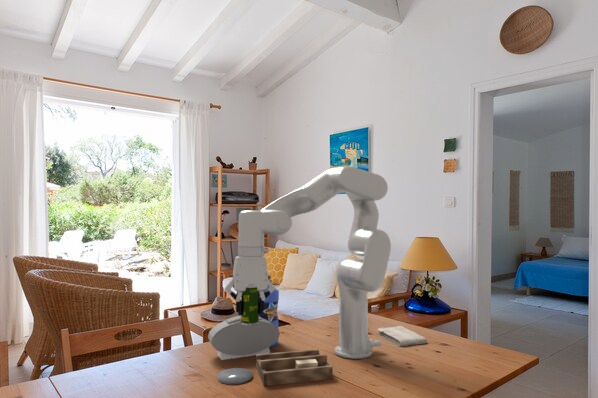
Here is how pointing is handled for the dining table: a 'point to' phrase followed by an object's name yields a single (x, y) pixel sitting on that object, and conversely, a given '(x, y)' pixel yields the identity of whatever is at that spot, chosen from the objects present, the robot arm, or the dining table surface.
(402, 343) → the washcloth
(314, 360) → the top offcut
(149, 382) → the dining table surface
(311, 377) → the rack
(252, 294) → the beer can
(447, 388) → the dining table surface
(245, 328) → the alarm clock
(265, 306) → the water bottle
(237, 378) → the grey glossy dome
